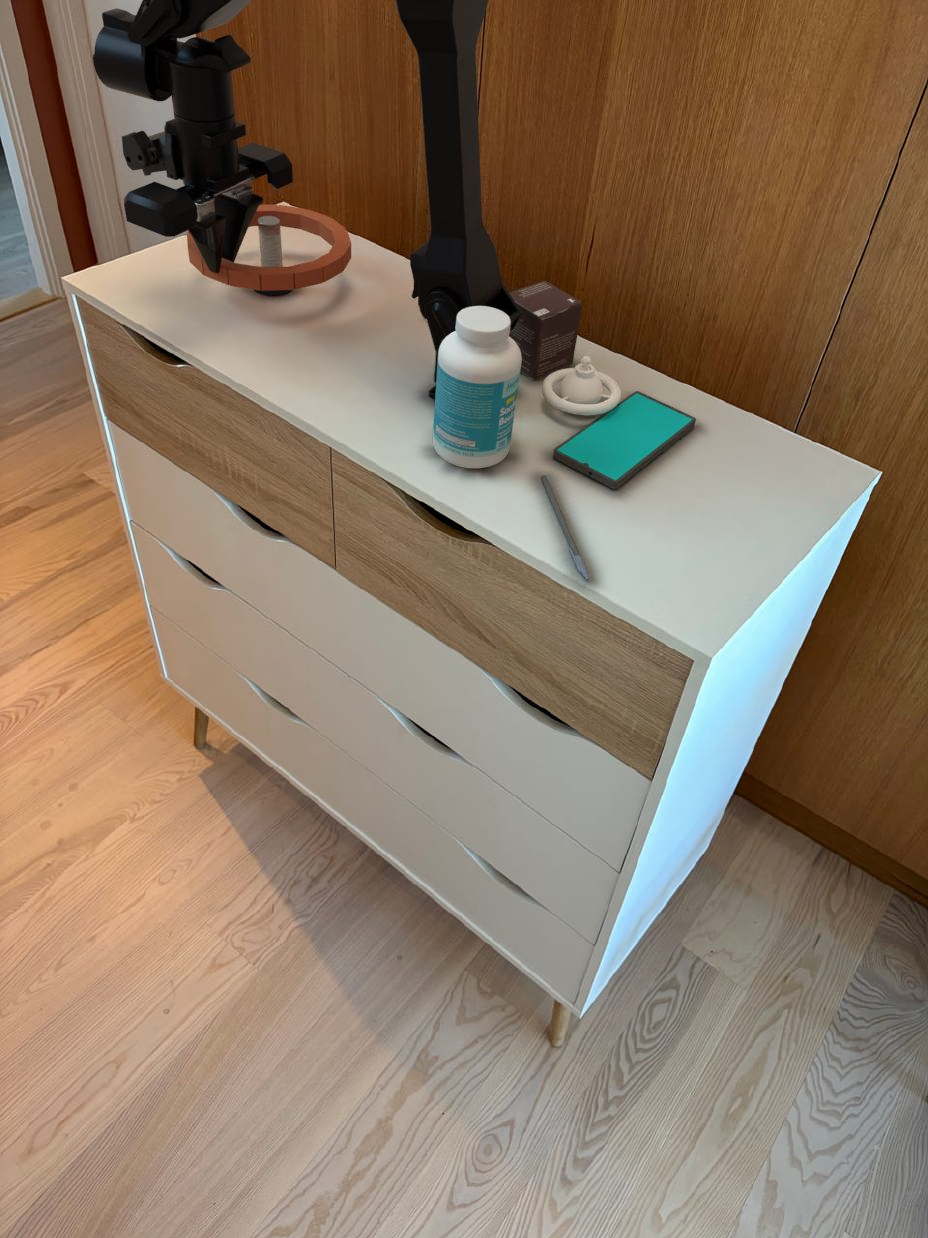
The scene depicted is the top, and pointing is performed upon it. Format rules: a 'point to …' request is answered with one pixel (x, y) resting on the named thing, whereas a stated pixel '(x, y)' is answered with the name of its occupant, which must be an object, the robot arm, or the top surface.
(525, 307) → the box
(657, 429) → the smartphone
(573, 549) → the pen
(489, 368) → the pill bottle
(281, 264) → the post stand
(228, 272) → the ring
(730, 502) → the top surface
